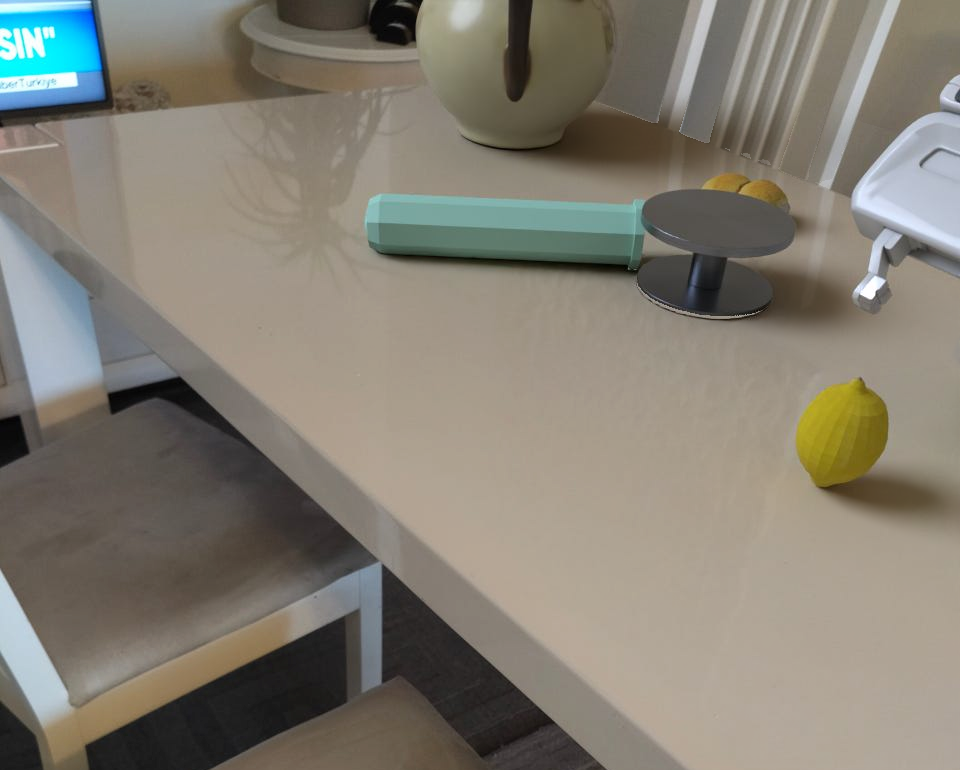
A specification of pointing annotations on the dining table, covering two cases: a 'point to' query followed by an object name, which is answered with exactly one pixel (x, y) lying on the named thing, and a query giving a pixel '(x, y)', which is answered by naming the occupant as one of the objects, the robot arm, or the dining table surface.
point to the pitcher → (516, 64)
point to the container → (506, 228)
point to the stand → (712, 250)
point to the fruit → (842, 433)
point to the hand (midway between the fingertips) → (921, 335)
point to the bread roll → (750, 188)
